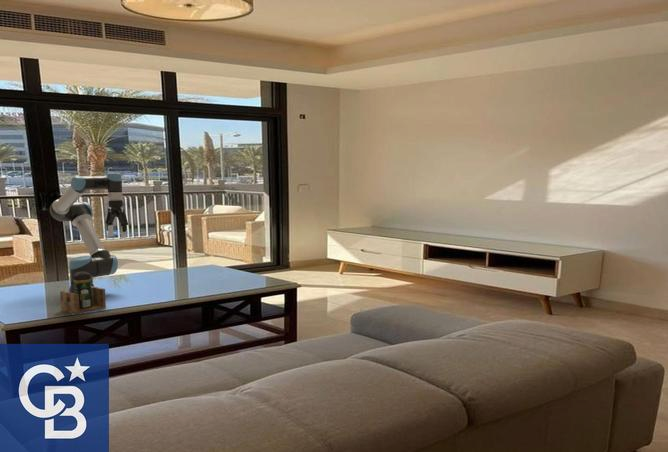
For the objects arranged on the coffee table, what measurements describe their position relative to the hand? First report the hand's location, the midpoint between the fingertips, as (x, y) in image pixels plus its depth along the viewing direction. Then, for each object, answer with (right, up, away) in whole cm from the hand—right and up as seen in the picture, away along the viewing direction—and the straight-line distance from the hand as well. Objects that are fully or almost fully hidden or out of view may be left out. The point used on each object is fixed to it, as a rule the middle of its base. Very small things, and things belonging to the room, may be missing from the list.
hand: (117, 237), depth 290 cm
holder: (-7, -37, -24) cm, 45 cm away
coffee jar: (-8, -36, -24) cm, 44 cm away
